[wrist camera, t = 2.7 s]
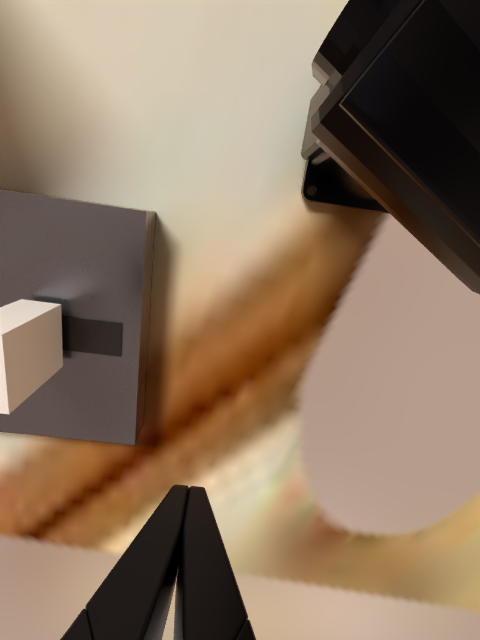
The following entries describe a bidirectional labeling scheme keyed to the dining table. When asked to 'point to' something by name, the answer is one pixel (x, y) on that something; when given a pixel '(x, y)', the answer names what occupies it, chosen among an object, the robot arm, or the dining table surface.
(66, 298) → the console
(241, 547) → the dining table surface
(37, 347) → the fader tab
